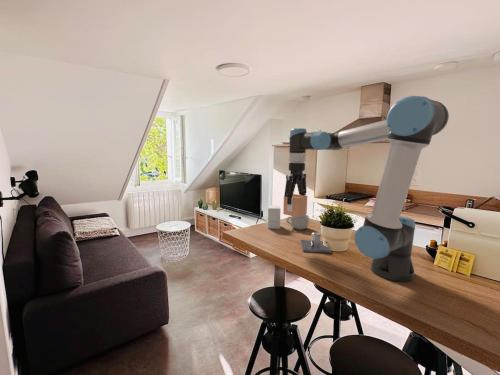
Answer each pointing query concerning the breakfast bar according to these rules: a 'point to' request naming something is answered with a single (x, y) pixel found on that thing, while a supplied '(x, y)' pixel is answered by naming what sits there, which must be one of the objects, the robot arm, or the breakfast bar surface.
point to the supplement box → (274, 217)
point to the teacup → (299, 222)
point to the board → (313, 248)
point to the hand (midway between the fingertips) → (295, 209)
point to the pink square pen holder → (296, 206)
